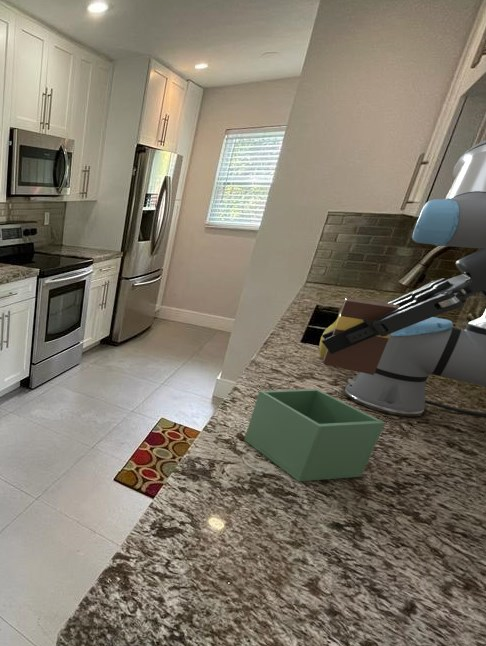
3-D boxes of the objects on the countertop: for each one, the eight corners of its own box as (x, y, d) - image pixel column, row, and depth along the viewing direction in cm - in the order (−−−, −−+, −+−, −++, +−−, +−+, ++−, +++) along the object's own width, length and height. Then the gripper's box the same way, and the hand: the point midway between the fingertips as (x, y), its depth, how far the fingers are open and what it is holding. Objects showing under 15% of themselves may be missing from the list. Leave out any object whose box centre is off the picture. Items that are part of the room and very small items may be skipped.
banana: (326, 350, 144) (346, 294, 137) (347, 355, 140) (369, 298, 133) (309, 364, 131) (330, 304, 123) (331, 370, 127) (355, 308, 119)
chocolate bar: (323, 358, 78) (345, 297, 74) (372, 369, 74) (399, 304, 69) (322, 364, 75) (345, 300, 71) (374, 375, 71) (401, 308, 67)
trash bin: (299, 436, 90) (316, 388, 86) (361, 476, 78) (385, 422, 73) (244, 439, 88) (259, 390, 84) (298, 481, 76) (319, 426, 71)
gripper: (475, 242, 67) (315, 318, 82) (506, 250, 54) (311, 337, 70) (509, 279, 65) (339, 349, 81) (548, 296, 53) (340, 375, 69)
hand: (327, 344), depth 76 cm, fingers closed on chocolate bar, 4 cm apart
